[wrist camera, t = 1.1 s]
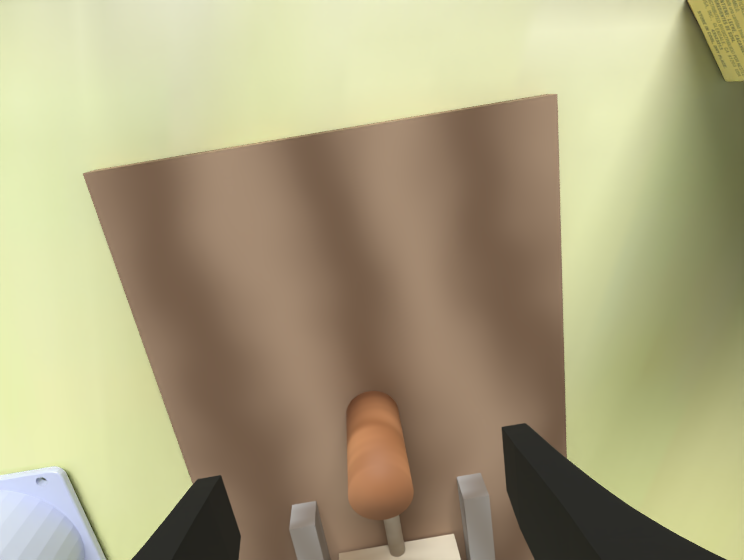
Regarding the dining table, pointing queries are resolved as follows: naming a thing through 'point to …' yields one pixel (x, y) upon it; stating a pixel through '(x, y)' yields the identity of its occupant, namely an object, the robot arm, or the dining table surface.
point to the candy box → (723, 33)
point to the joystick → (384, 480)
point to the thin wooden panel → (353, 315)
